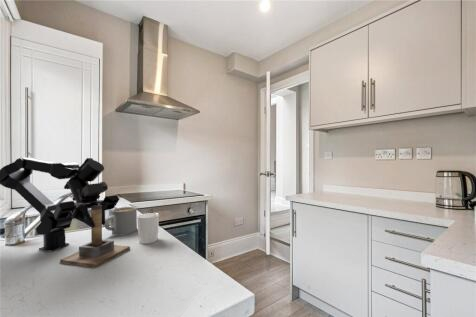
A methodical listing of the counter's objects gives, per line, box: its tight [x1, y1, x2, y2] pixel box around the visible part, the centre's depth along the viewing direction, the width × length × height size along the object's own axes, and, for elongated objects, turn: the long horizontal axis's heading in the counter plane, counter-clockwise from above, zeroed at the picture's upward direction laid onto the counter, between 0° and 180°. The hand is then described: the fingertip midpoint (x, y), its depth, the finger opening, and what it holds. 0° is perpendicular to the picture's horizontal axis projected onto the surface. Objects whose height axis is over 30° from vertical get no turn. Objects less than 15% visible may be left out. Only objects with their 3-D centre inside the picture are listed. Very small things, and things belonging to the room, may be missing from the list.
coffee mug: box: [103, 206, 138, 236], centre depth 99 cm, size 13×10×10 cm
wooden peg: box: [90, 205, 103, 246], centre depth 75 cm, size 3×3×13 cm
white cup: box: [137, 212, 160, 245], centre depth 88 cm, size 8×8×10 cm
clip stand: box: [59, 239, 131, 269], centre depth 75 cm, size 14×14×4 cm
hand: (98, 225), depth 74 cm, fingers closed on wooden peg, 3 cm apart
